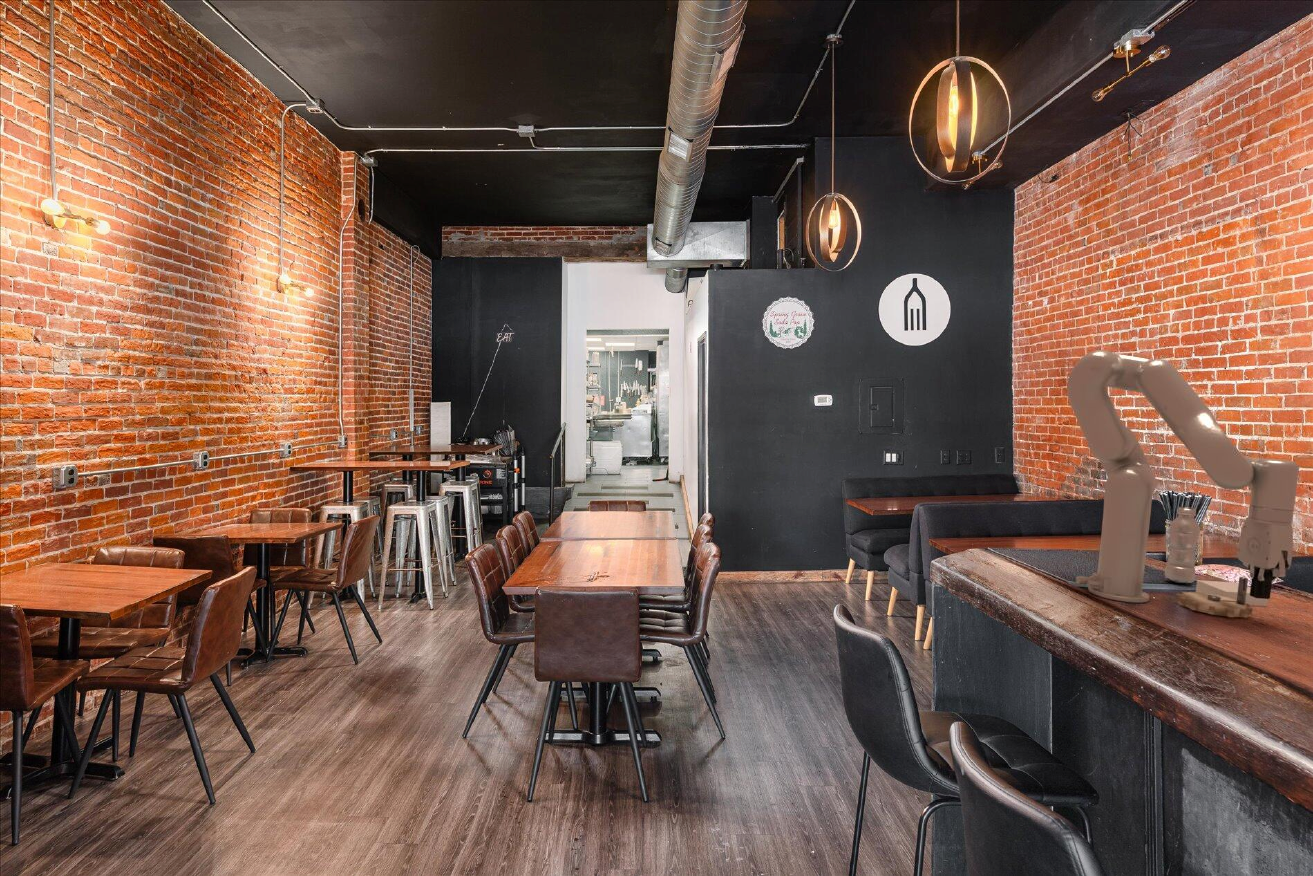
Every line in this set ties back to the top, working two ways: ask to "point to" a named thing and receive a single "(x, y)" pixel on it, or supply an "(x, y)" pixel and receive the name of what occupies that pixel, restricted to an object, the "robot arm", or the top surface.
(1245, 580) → the base with upright peg
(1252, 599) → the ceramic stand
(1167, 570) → the plastic bottle
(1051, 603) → the top surface
